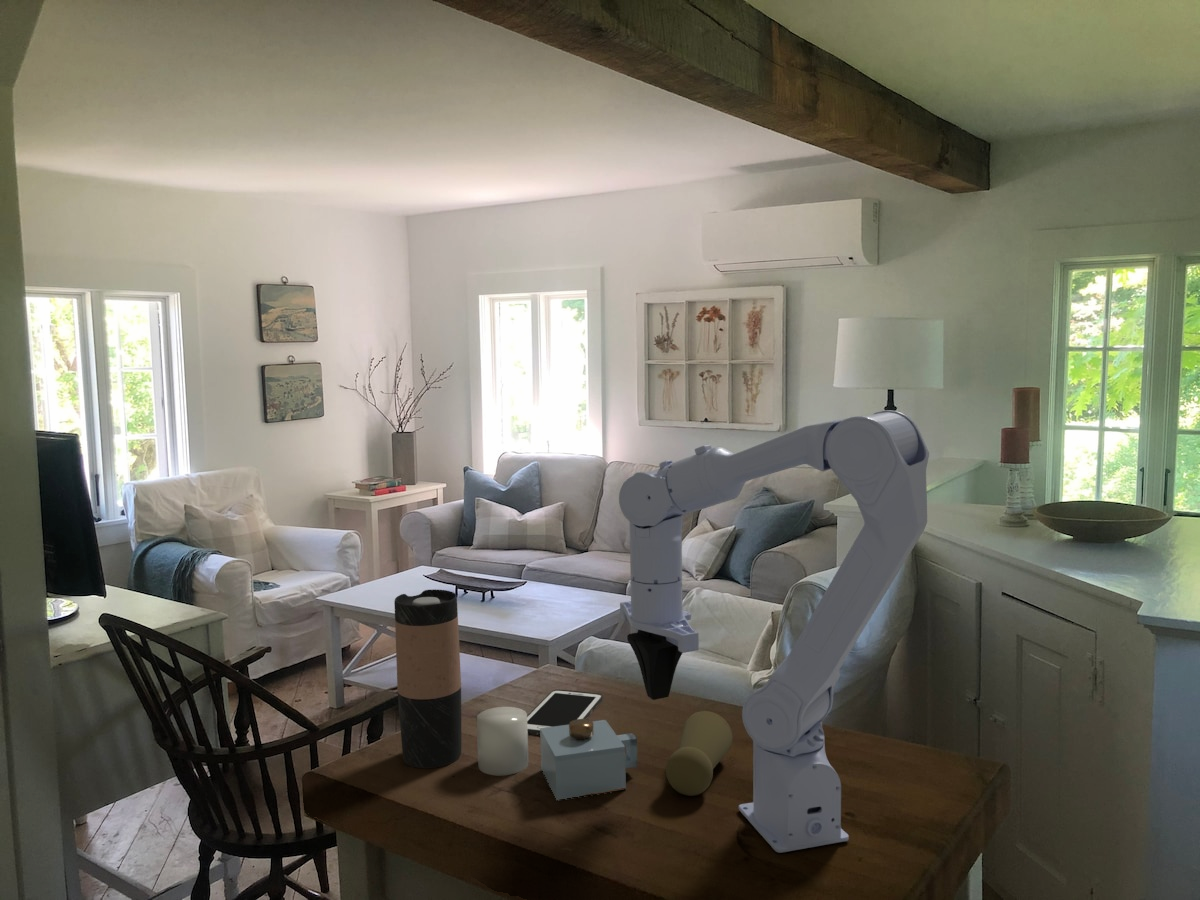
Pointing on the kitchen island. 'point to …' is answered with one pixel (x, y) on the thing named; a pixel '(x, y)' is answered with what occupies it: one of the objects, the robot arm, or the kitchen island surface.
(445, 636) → the travel mug
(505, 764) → the white pillar candle
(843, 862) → the kitchen island surface
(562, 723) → the cell phone
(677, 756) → the cork
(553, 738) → the blue box with knob
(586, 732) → the plunger
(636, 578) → the robot arm
